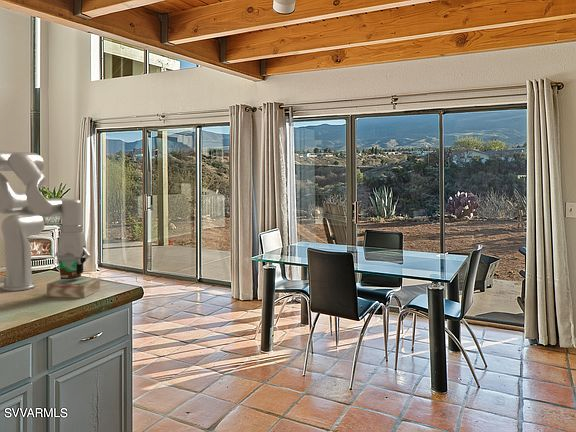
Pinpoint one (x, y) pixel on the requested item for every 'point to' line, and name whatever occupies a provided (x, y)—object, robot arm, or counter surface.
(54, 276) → the counter surface
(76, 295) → the birch stand
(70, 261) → the food container
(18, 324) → the counter surface
